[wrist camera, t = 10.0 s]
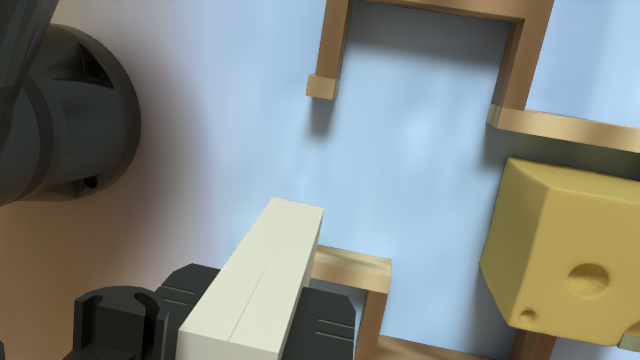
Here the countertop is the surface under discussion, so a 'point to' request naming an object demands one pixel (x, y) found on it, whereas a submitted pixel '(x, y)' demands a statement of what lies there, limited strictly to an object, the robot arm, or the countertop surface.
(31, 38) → the robot arm
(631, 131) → the trap lane
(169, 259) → the countertop surface
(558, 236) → the cheese
